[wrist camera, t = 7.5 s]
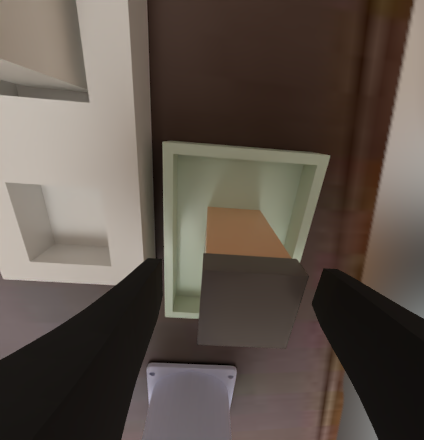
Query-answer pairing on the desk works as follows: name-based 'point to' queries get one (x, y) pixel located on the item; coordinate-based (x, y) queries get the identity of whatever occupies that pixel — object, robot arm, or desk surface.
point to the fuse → (41, 45)
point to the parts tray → (230, 204)
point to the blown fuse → (247, 282)
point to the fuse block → (82, 160)
